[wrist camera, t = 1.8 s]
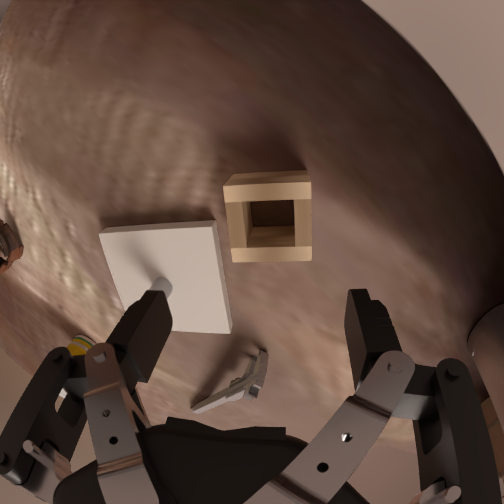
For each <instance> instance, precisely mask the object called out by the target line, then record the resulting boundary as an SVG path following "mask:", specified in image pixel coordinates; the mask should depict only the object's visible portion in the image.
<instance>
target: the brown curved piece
mask: <svg viewBox="0 0 504 504" xmlns="http://www.w3.org/2000/svg"><path fill="white" fill-rule="evenodd" d="M0 242H1V244H2V246H3V250H4V257H6V256H8V258H7V260H4V259H3V258H2V257H0V274H2V273H3V272H5V271H6V270H7V269H9V267H10V266H11V265H12V263H13V261H14V260H17V259H20V257H21V256H22V254H23V246H20V243H19V242H18V240H17V238H16V236H15V235H14V233H13V231H12V229H11V228H10V227H9V225H8V224H7V223H5V224H4V223H3V220H1V219H0Z"/></svg>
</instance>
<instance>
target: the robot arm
mask: <svg viewBox="0 0 504 504" xmlns="http://www.w3.org/2000/svg"><path fill="white" fill-rule="evenodd" d="M172 326H173V318H172V314H171V311H170V308H169V305H168V302H167V298H166V295H165V293H164V291H162V290H146V291H145V293H144V294H143V296H142V297H141V299H140V300H137V301H136V302H134V303H133V304H132V305H130V306H129V307H128V309H127V310H126V312H125V313H124V316H122V318H121V319H120V322H118V324H117V325H116V327H115V328H114V330H113V331H112V333H111V334H110V336H109V337H108V339H107V341H106V342H105V343H98V344H96V345H94V346H92V347H91V348H90V349H88V351H87V352H86V354H85V355H74V356H72V354H71V353H70V351H69V349H68V348H66V347H57V348H55V349H53V350H52V351H50V352H49V353H48V355H47V356H46V357H45V359H44V361H43V362H42V364H41V365H40V367H39V368H38V370H37V371H36V373H35V375H34V376H33V378H32V380H31V381H30V383H29V384H28V387H27V388H26V390H25V391H24V393H23V395H22V396H21V398H20V400H19V402H18V403H17V405H16V407H15V409H14V411H13V412H12V414H11V416H10V418H9V420H8V422H7V424H6V426H5V428H4V430H3V432H2V434H1V436H0V475H1V476H3V477H4V478H6V479H7V480H9V481H10V482H11V483H12V484H13V485H15V486H17V487H19V488H20V489H22V490H23V491H25V492H27V493H28V494H30V495H33V496H35V497H37V498H39V499H41V500H42V501H45V502H48V503H50V504H370V503H369V502H368V501H366V500H365V499H364V498H363V497H362V496H361V495H360V494H359V493H358V492H357V491H356V490H355V489H354V488H353V487H352V486H351V485H350V484H349V483H348V482H347V480H348V479H349V478H350V476H351V475H352V473H353V472H354V471H355V470H356V468H357V467H358V466H359V464H360V463H361V461H362V460H363V459H364V457H365V456H366V454H367V453H368V451H369V450H370V449H371V447H372V446H373V444H374V443H375V441H376V440H377V438H378V436H379V435H380V433H381V432H382V430H383V429H384V427H385V425H386V424H387V422H388V420H389V419H390V417H391V416H392V417H398V418H406V419H412V421H413V427H414V434H415V441H416V448H417V456H418V465H419V476H420V489H421V492H420V493H419V494H417V495H416V496H414V497H413V498H412V499H411V501H410V502H409V504H502V500H501V492H500V484H499V478H498V472H497V467H496V462H495V457H494V452H493V448H492V443H491V439H490V435H489V432H488V428H487V424H486V421H485V417H484V414H483V411H482V408H481V404H480V401H479V398H478V395H477V392H476V390H475V387H474V384H473V381H472V378H471V376H470V373H469V371H468V368H467V367H466V365H465V364H464V363H462V362H461V361H459V360H457V359H454V358H447V359H444V360H442V361H441V362H439V364H438V365H437V367H429V366H422V365H418V364H415V363H414V361H413V359H412V358H411V357H410V356H409V355H407V354H406V353H404V352H402V349H401V346H400V343H399V340H398V338H397V335H396V332H395V329H394V327H393V325H392V321H391V319H390V318H389V314H388V311H387V309H386V307H385V306H384V305H383V304H382V303H381V302H380V301H379V300H371V299H370V296H369V294H368V291H367V289H349V291H348V296H347V304H346V312H345V321H344V327H345V335H346V340H347V345H348V351H349V357H350V362H351V368H352V375H353V381H354V387H355V394H354V395H353V396H349V397H348V398H347V399H346V400H345V401H344V402H343V404H342V405H341V406H340V408H339V409H338V410H337V411H336V413H335V414H334V415H333V416H332V418H331V419H330V420H329V421H328V422H327V424H326V425H325V426H324V427H323V428H322V430H321V431H320V432H319V433H318V434H317V435H316V437H315V438H314V439H313V440H312V441H311V442H310V443H309V444H308V443H307V442H305V441H303V440H301V439H299V438H296V437H293V436H289V435H286V427H257V426H254V427H248V428H241V429H234V430H226V431H222V430H218V429H216V428H213V427H210V426H207V425H204V424H202V423H199V422H196V421H193V420H186V419H180V418H174V417H168V418H167V421H166V423H165V424H161V425H155V426H152V425H151V424H150V422H149V420H148V417H147V415H146V412H145V409H144V407H143V404H142V401H141V398H140V396H139V393H138V390H137V388H136V384H137V382H138V381H139V382H144V383H148V380H149V378H150V376H151V374H152V371H153V369H154V367H155V365H156V363H157V360H158V358H159V356H160V354H161V351H162V349H163V347H164V345H165V343H166V341H167V338H168V336H169V334H170V332H171V330H172ZM467 347H468V350H469V352H470V354H471V356H472V358H473V360H474V362H475V364H476V366H477V369H478V371H479V373H480V375H481V377H482V380H483V382H484V384H485V386H486V389H487V391H488V393H489V396H490V398H491V401H492V403H493V406H494V408H495V411H496V413H497V416H498V419H499V421H500V424H501V427H502V430H503V433H504V304H501V305H498V306H496V307H495V308H493V309H492V310H490V311H489V312H488V313H487V314H485V315H484V316H483V317H482V318H481V319H480V321H479V322H478V323H477V324H476V326H475V327H474V328H473V330H472V332H471V334H470V336H469V338H468V343H467ZM62 388H63V389H64V390H65V392H66V393H67V394H66V396H65V398H64V400H63V402H62V404H61V406H60V408H59V410H58V412H56V410H55V402H56V400H57V397H58V396H59V394H60V392H61V390H62ZM87 419H88V424H89V429H90V434H91V438H92V443H93V447H94V451H95V455H96V460H94V461H93V462H91V463H89V464H88V465H86V466H84V467H83V468H81V469H79V470H78V471H76V472H74V473H72V471H71V465H70V461H71V458H72V455H73V452H74V450H75V448H76V445H77V442H78V440H79V438H80V435H81V433H82V431H83V428H84V426H85V423H86V421H87Z"/></svg>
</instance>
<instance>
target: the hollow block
mask: <svg viewBox="0 0 504 504" xmlns="http://www.w3.org/2000/svg"><path fill="white" fill-rule="evenodd" d="M223 191H224V199H225V207H226V215H227V223H228V230H229V238H230V245H231V253H232V260H233V262H273V261H312V207H311V181H310V178H309V174H308V171H307V170H298V171H272V172H254V173H238V174H233V175H232V176H231V177H230V178H229V180H228V181H227V182H226V183H225V184H224V186H223ZM267 200H294V222H295V226H268V227H253V222H252V212H251V201H267Z"/></svg>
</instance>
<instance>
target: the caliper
mask: <svg viewBox="0 0 504 504" xmlns="http://www.w3.org/2000/svg"><path fill="white" fill-rule="evenodd" d="M267 364H268V354H267V353H265V352H264V351H262V350H260V351H259V354H258V358H257V357H255V356H253V357H252V358H251V359H250V362H249V364H248V366H247V369H246V371H245V373H244V375H243V377H242V378H236V379H235V380H233V381H231V383H230V386H229V387H228V388H226V389H224V390H222V391H220V392H218V393H216V394H214V395H213V396H211V397H209V398H207V399H205V400H203V401H201V402H199V403H197V404H196V405H195V406H194V407H193V408H191V410H192V412H194V413H197V414H199V413H202V412H204V411H207V410H209V409H211V408H214V407H216V406H218V405H221V404H223V403H225V402H227V401H232V402H233V401H235V400H238V399H240V398H242V397H243V398H245V399H247V400H250V401H251V400H252V398H253V397H254V398H257V395H258V391H259V389H261V388H262V386H263V383H264V379H265V376H266V372H267Z"/></svg>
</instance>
